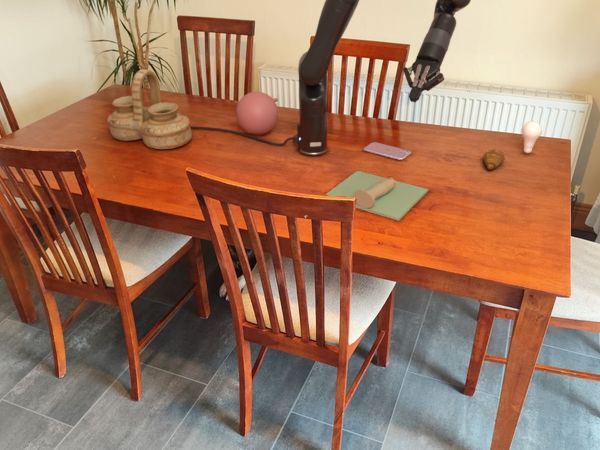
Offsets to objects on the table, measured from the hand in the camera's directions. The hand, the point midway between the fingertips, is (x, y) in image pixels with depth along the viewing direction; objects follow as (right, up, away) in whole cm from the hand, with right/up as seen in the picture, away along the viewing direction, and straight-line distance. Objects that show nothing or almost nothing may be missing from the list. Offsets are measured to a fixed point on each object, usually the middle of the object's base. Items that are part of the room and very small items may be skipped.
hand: (412, 100), depth 160 cm
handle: (-5, -23, +3) cm, 24 cm away
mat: (-10, -27, +2) cm, 29 cm away
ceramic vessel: (-88, -4, +42) cm, 97 cm away
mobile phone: (-3, -11, +27) cm, 30 cm away
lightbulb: (+43, -12, +25) cm, 51 cm away
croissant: (+30, -16, +18) cm, 38 cm away
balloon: (-47, -1, +46) cm, 66 cm away
